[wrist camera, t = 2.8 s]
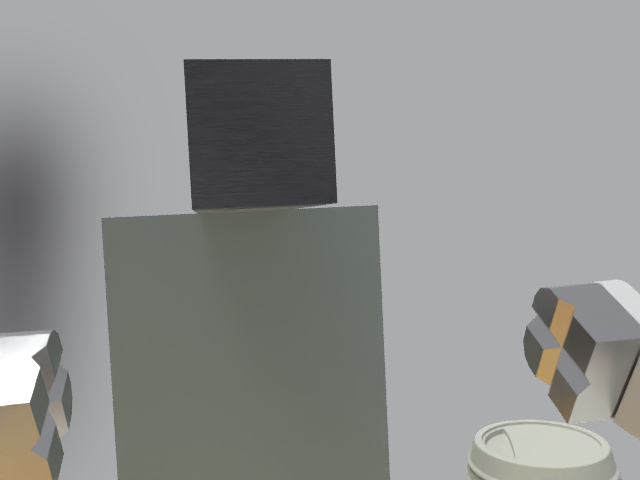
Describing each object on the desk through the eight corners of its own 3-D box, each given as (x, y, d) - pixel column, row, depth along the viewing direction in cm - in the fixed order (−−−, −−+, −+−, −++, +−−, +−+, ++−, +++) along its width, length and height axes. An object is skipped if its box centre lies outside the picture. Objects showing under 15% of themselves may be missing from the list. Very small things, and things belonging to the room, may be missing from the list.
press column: (422, 751, 29) (398, 204, 28) (114, 818, 26) (76, 219, 25) (347, 564, 45) (330, 210, 44) (149, 595, 42) (126, 219, 41)
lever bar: (337, 202, 17) (330, 59, 17) (191, 209, 16) (183, 59, 16) (262, 213, 41) (259, 153, 41) (201, 216, 40) (198, 154, 40)
